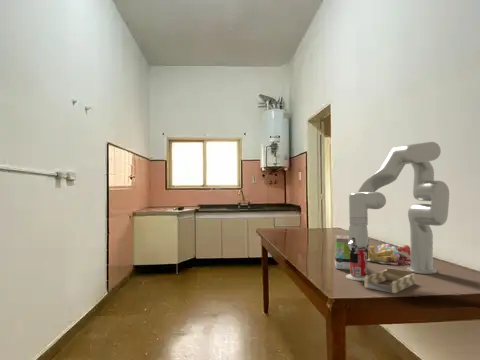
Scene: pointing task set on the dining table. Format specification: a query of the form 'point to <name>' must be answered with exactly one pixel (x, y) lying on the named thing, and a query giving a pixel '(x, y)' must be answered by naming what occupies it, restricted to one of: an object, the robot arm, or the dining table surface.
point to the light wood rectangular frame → (398, 277)
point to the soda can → (359, 264)
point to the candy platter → (389, 254)
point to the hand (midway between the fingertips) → (359, 260)
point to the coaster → (355, 277)
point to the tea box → (342, 252)
